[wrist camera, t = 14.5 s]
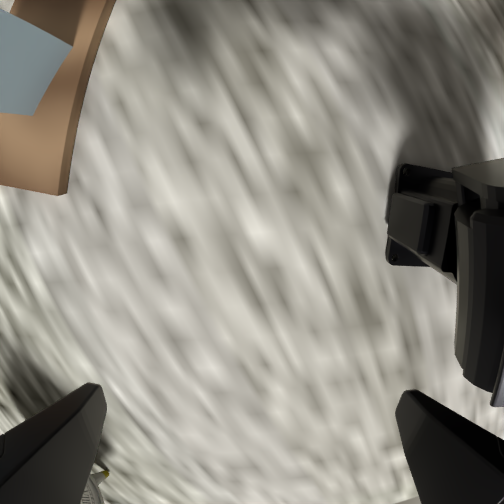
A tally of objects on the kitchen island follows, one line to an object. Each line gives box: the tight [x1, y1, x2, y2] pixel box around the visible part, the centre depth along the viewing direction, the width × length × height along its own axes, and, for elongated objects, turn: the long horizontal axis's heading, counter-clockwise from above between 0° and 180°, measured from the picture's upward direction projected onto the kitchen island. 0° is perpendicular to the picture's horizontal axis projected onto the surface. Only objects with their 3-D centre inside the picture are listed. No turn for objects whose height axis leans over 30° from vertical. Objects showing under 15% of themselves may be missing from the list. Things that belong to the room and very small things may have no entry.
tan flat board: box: [0, 0, 116, 196], centre depth 15 cm, size 16×9×1 cm, turn 167°
